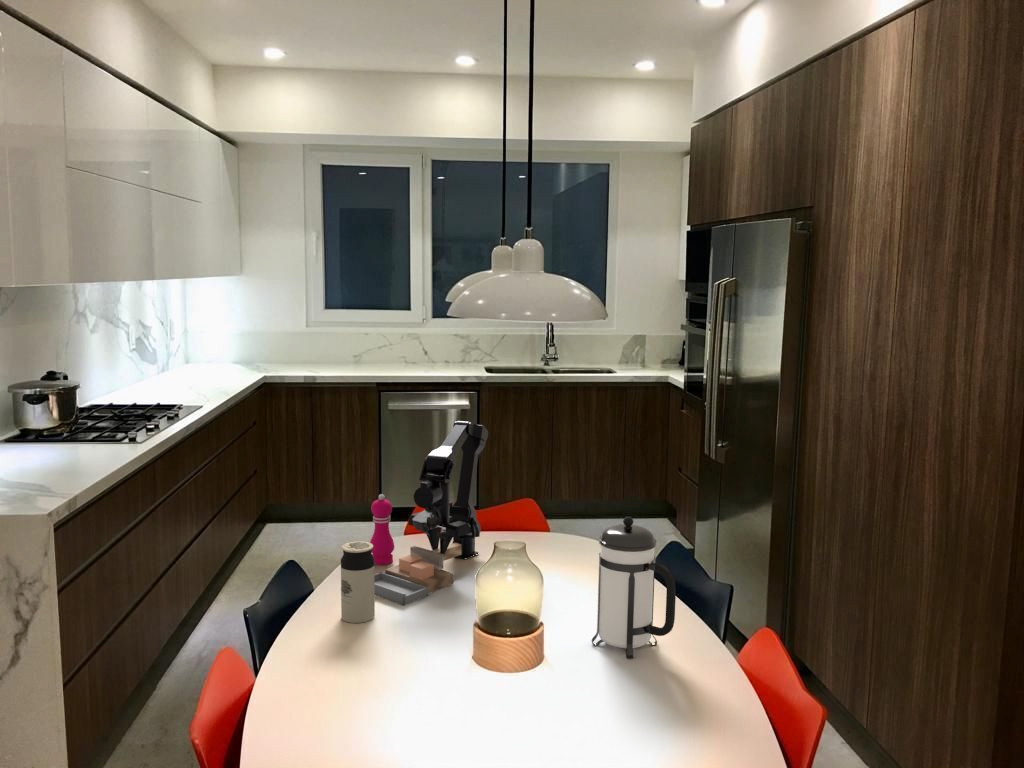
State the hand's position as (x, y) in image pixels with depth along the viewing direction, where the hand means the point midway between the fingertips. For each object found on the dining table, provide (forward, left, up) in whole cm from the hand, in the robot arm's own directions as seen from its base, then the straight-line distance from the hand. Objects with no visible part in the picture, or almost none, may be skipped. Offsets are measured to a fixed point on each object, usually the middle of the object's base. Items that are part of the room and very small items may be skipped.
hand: (438, 554), depth 241 cm
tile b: (+10, +3, -3) cm, 11 cm away
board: (+8, 0, -6) cm, 10 cm away
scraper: (-1, 0, -2) cm, 2 cm away
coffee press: (+6, +65, -6) cm, 65 cm away
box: (+18, 0, -6) cm, 19 cm away
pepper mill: (+3, -20, -6) cm, 21 cm away
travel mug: (+35, +6, -6) cm, 36 cm away
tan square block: (+8, -3, -3) cm, 9 cm away
